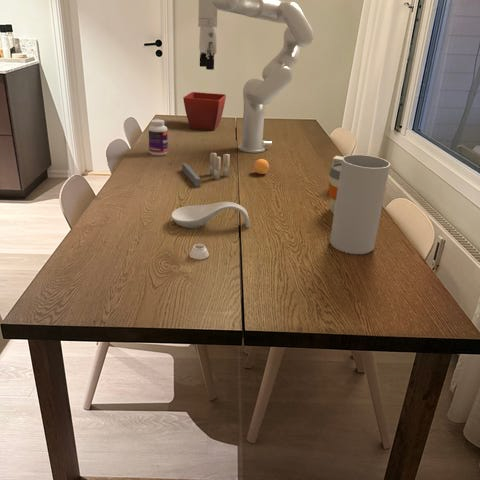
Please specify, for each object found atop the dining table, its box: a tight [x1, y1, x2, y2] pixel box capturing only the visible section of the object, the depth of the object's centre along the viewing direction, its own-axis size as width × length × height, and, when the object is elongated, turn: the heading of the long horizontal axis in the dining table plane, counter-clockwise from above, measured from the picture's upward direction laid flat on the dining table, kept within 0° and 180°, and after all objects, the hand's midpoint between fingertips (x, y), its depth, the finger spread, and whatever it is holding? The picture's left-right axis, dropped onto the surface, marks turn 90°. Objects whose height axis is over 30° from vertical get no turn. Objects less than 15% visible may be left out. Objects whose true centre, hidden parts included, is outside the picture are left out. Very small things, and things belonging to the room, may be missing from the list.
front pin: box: [222, 153, 231, 178], centre depth 189 cm, size 2×2×8 cm
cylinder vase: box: [329, 154, 391, 255], centre depth 135 cm, size 12×12×25 cm
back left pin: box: [213, 156, 222, 181], centre depth 186 cm, size 2×2×8 cm
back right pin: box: [209, 152, 217, 177], centre depth 190 cm, size 2×2×8 cm
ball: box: [253, 158, 270, 175], centre depth 195 cm, size 6×6×6 cm
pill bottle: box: [148, 119, 169, 157], centre depth 211 cm, size 8×8×14 cm
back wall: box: [181, 162, 202, 188], centre depth 186 cm, size 2×20×3 cm, turn 21°
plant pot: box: [183, 91, 227, 132], centre depth 261 cm, size 19×19×17 cm
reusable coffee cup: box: [328, 163, 342, 213], centre depth 161 cm, size 13×13×15 cm
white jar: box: [189, 243, 210, 260], centre depth 129 cm, size 5×3×5 cm
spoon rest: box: [170, 201, 251, 229], centre depth 147 cm, size 24×12×7 cm, turn 95°
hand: (206, 68), depth 205 cm, fingers open, 9 cm apart
